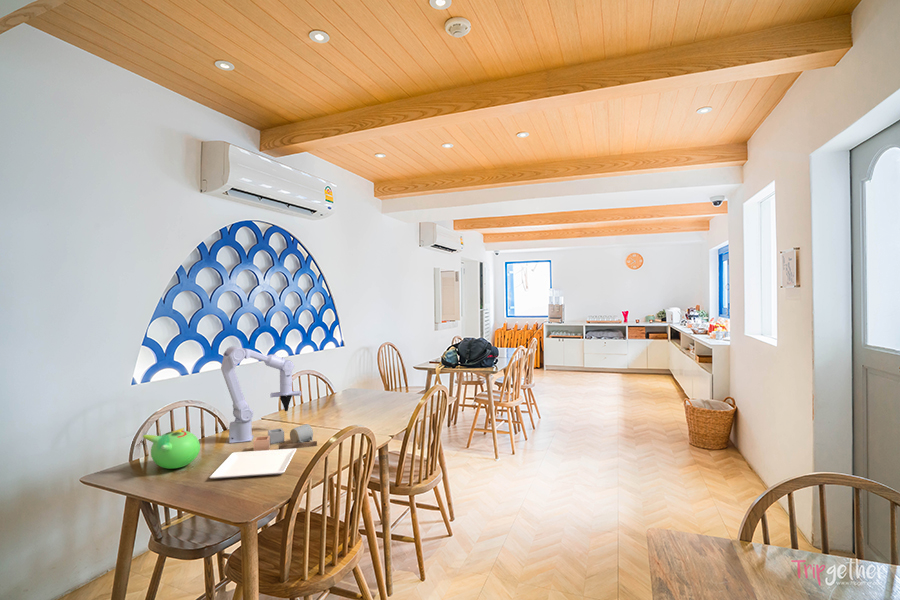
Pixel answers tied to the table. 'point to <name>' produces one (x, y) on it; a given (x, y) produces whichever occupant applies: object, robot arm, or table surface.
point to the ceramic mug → (301, 434)
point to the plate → (254, 463)
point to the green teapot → (174, 448)
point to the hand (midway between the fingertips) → (286, 410)
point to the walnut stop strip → (298, 445)
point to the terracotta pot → (262, 443)
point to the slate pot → (276, 436)
